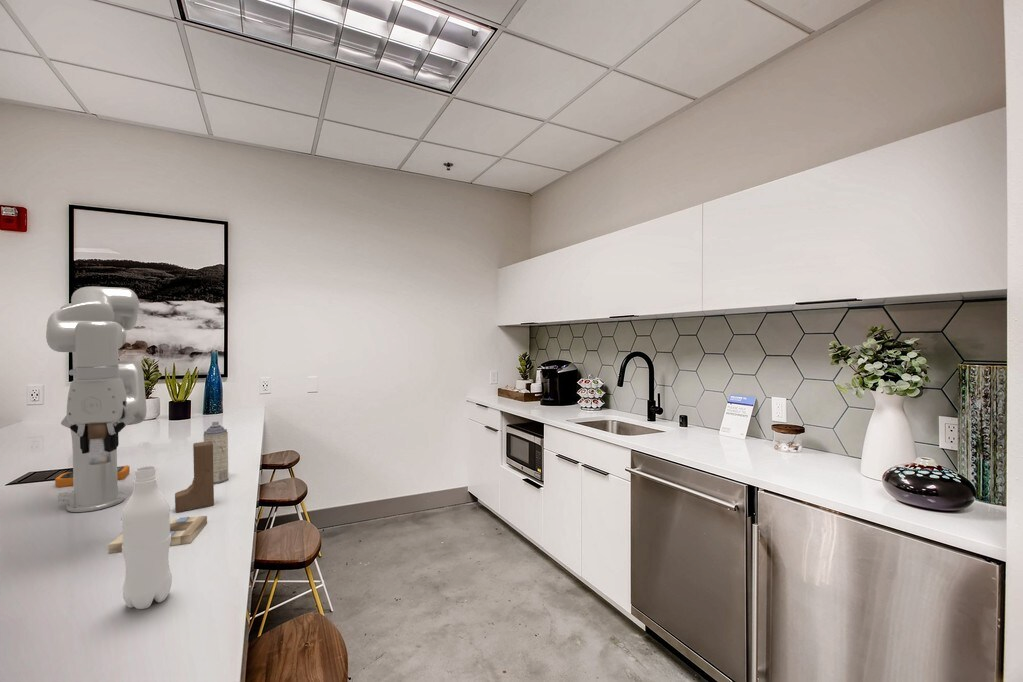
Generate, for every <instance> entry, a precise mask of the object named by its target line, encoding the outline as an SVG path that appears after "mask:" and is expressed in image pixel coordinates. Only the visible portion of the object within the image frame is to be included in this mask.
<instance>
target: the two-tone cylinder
mask: <svg viewBox="0 0 1023 682" xmlns="http://www.w3.org/2000/svg"><path fill="white" fill-rule="evenodd" d="M87 427H88V464H89V465H99V464H105V463H109V462H111V452H107V451H106V436H107V435H109V432H108V428H107V424H106V423H93V424H87Z"/></svg>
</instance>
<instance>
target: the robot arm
mask: <svg viewBox="0 0 1023 682" xmlns="http://www.w3.org/2000/svg"><path fill="white" fill-rule="evenodd" d="M70 302H71V303H66V304H64V305H62V306H61V307H59V309H57V310H55V311H54V312H52V313H51V314H50V316H49V318H48V319H47V322H46V323H47V324H46V331H45V338H46V342H47V345H48V346H49V348H50V349H51V350H53V351H54V352H58V353H72V369H70V370H69V372H68V374H69V375H70V376H73V380H72V381H71V382H70V386H69V389H68V395H67V401H66V402H67V403H66V416H64V418H63V419H62V420H61V422H60V425H61V426H64V427H65V428H68V429H70V435H71V447H72V472H73V485H74V486H73V491H72V492H60V493H58V495H56V496H57V497H56V498H57V502H58V503H59V502H68V503H67V505H66V507H65V508H66V511H67V512H71V513H86V512H91V511H97V510H102V509H107V508H110V507H112V506H116V505H118V504H120V503H122V502H123V501H124V500H125V498H126V497H125V494H124V493H122V492H121V493H120V492H119V488H118V485H119V483H118V481H119V480H117V467H118V447H119V445H120V444H119V443H120V442H119V434H120V432H121V431H122V430H123V429H124V428H125V427H126V426H133V425H137V424H140V423H142V422H144V421H145V419H146V417H147V410H148V409H147V400H146V399H147V398H146V388H145V387H146V386H145V376H144V370H143V367H142V365H141V364H140V363H139V362H138V361H136V360H130V359H129V360H126V359H125V360H123V359H122V360H119V350H120V349H121V348H122V347H123V345H125V344H126V341H127V333H126V332H127V331H130V330H132V329H134V328H135V326H136V324H137V321H138V315H139V310H140V302H139V298H138V295H137V294H136V293H135V291H134V290H132V289H130V288H129V287H112V286H111V287H110V286H109V287H108V286H96V285H95V286H94V285H93V286H84V287H80V288H78V289H76V290H75V291H73V293H72V295H71V299H70ZM93 423H106V424H107V428H108V432H109V435H107V436H106V451H107V452H111V462H109V463H105V464H99V465H89V464H88V427H87V424H93Z"/></svg>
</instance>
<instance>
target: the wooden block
mask: <svg viewBox="0 0 1023 682" xmlns="http://www.w3.org/2000/svg"><path fill="white" fill-rule="evenodd" d="M192 447H193V448H192V449H193V451H192V452H193V453H192V455H193V479H192V482H191V484H190V485H189V486H188V487H187V488H186V489H183V490H180V491H177V492H175V493H174V506H175V507H174V508H175V513H181V512H185V511H190V510H192V511H193V510H197V509H201V508H206V507H212V506H214V505H215V488H214V487H215V486H214V485H215V484H214V476H213V444H212V442H211V441H207V442H204V441H201V442H200V441H199V442H194V443H193V446H192Z"/></svg>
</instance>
